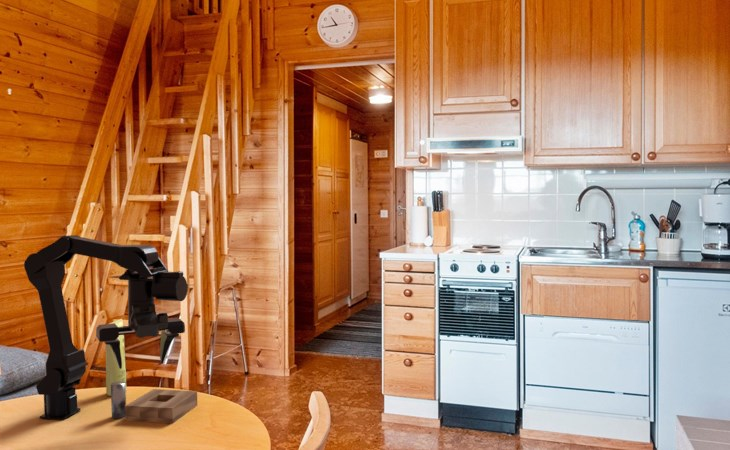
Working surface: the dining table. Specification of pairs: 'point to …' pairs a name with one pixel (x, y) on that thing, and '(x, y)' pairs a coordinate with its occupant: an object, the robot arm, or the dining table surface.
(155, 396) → the bore block
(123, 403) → the pin
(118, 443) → the dining table surface
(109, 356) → the tube
